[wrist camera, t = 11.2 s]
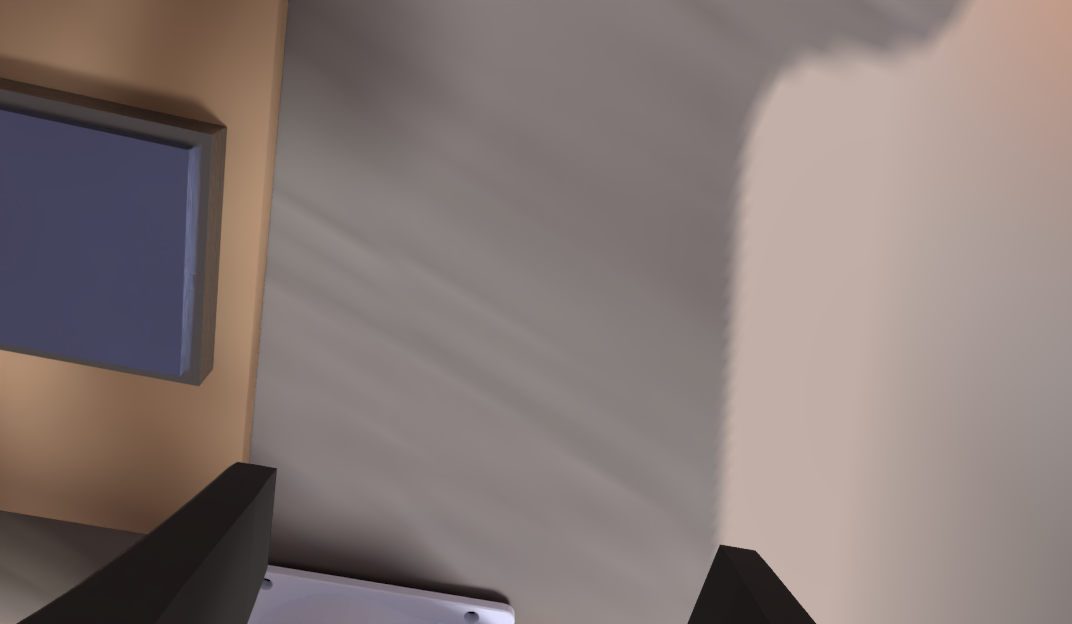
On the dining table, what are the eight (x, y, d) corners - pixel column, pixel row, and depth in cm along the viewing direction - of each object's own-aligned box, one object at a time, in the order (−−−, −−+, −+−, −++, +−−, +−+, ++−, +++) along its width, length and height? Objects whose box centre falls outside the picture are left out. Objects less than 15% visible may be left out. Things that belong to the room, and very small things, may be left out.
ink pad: (227, 126, 19) (207, 137, 18) (213, 368, 22) (194, 392, 20) (-26, 71, 18) (-65, 78, 17) (-7, 328, 21) (-39, 349, 20)
